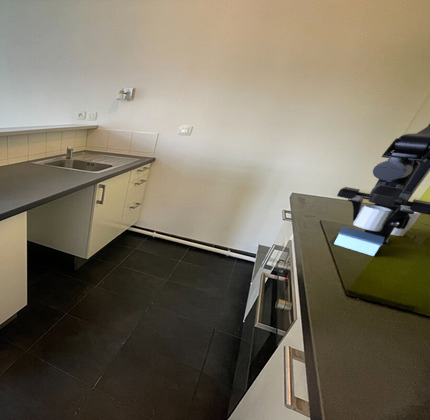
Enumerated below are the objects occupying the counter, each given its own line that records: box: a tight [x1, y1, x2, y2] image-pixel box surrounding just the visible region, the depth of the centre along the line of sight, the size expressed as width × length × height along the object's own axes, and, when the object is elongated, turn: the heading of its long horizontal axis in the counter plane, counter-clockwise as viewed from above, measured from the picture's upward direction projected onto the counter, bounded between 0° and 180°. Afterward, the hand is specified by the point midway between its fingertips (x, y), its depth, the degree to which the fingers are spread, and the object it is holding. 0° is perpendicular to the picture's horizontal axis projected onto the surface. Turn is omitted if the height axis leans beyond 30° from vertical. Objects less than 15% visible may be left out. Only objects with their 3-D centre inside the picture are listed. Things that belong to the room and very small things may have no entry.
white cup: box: [390, 212, 422, 237], centre depth 95 cm, size 8×8×10 cm
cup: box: [352, 203, 393, 231], centre depth 80 cm, size 6×6×7 cm
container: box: [333, 226, 385, 257], centre depth 83 cm, size 9×9×5 cm
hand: (368, 223), depth 81 cm, fingers closed on cup, 6 cm apart
